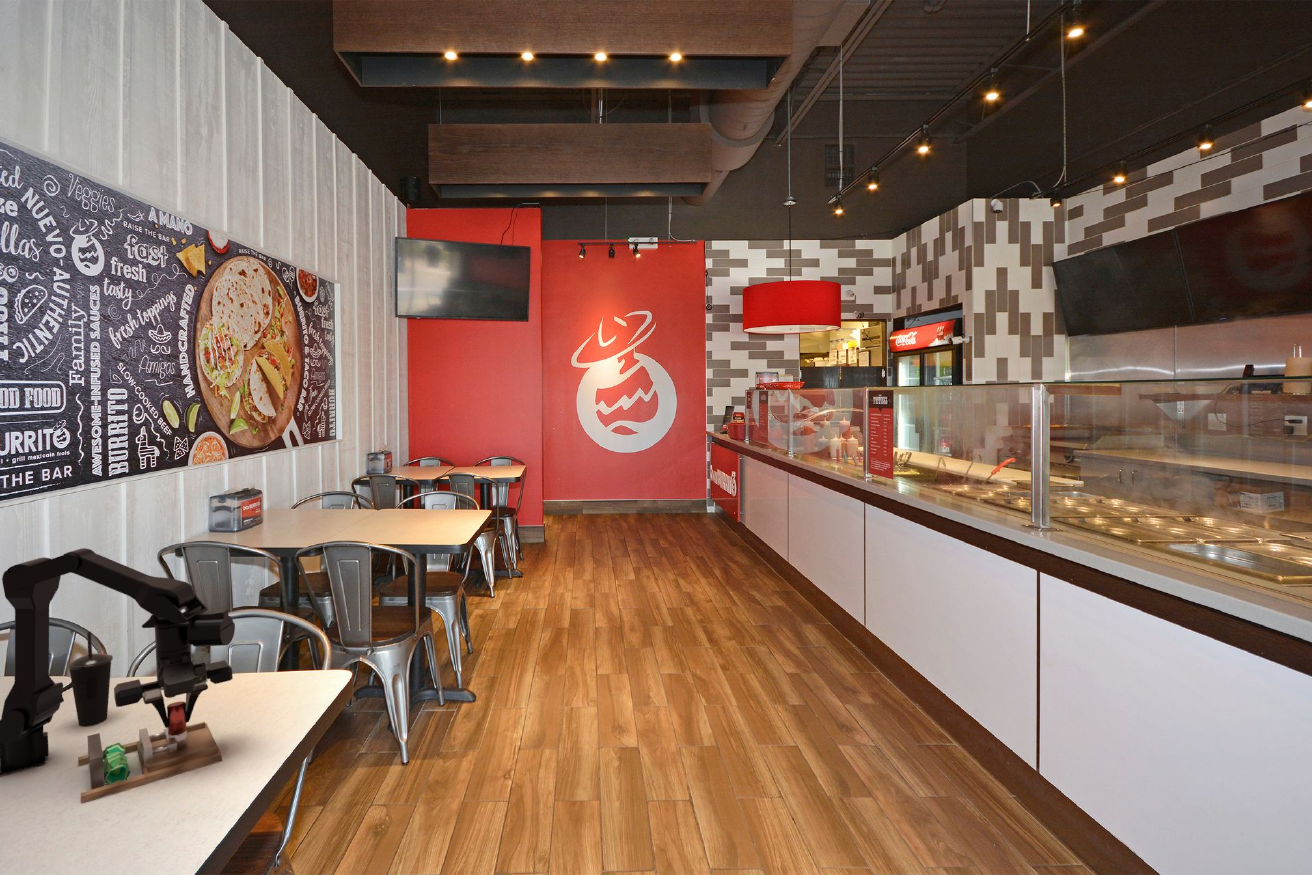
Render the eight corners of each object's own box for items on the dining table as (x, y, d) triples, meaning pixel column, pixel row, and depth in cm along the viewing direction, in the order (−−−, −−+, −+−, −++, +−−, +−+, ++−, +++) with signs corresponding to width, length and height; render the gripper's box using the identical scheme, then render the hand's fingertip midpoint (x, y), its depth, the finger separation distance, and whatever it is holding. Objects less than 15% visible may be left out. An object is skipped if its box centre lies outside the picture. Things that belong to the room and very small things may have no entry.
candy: (135, 775, 126) (119, 762, 124) (116, 791, 124) (99, 778, 122) (130, 751, 135) (114, 738, 133) (112, 766, 133) (96, 753, 131)
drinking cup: (124, 714, 153) (120, 626, 152) (93, 730, 145) (88, 638, 144) (93, 712, 153) (89, 625, 152) (60, 728, 146) (56, 637, 145)
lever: (144, 766, 127) (142, 722, 127) (139, 746, 135) (137, 705, 134) (190, 753, 132) (189, 710, 132) (183, 735, 139) (181, 694, 139)
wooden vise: (81, 803, 118) (79, 769, 118) (78, 763, 132) (76, 732, 131) (222, 760, 132) (221, 730, 132) (206, 728, 146) (205, 700, 145)
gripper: (116, 671, 122) (120, 756, 122) (236, 646, 134) (239, 723, 135) (112, 655, 130) (116, 734, 131) (225, 632, 142) (228, 705, 143)
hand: (177, 724), depth 135 cm, fingers closed on lever, 3 cm apart
